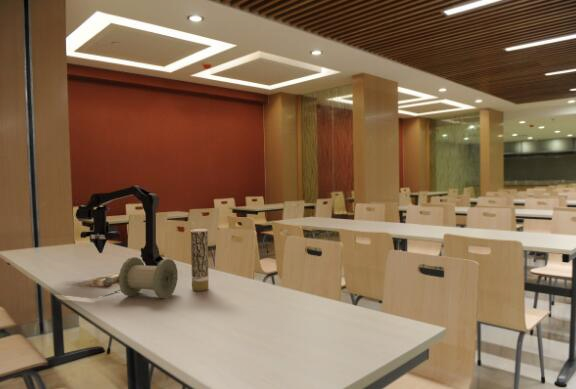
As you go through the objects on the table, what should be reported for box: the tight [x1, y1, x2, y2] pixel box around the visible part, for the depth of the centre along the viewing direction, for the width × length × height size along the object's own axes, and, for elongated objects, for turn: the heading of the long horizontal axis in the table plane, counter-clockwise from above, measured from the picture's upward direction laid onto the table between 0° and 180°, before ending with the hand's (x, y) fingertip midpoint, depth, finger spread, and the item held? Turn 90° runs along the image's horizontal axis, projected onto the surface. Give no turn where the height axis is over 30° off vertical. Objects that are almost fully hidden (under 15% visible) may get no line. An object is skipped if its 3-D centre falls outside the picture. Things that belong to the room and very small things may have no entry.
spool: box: [118, 256, 179, 300], centre depth 169 cm, size 16×15×15 cm
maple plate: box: [91, 273, 119, 287], centre depth 186 cm, size 6×11×2 cm, turn 160°
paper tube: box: [190, 228, 210, 292], centre depth 179 cm, size 7×7×25 cm
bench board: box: [71, 272, 120, 289], centre depth 187 cm, size 20×15×5 cm
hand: (100, 253), depth 201 cm, fingers closed
